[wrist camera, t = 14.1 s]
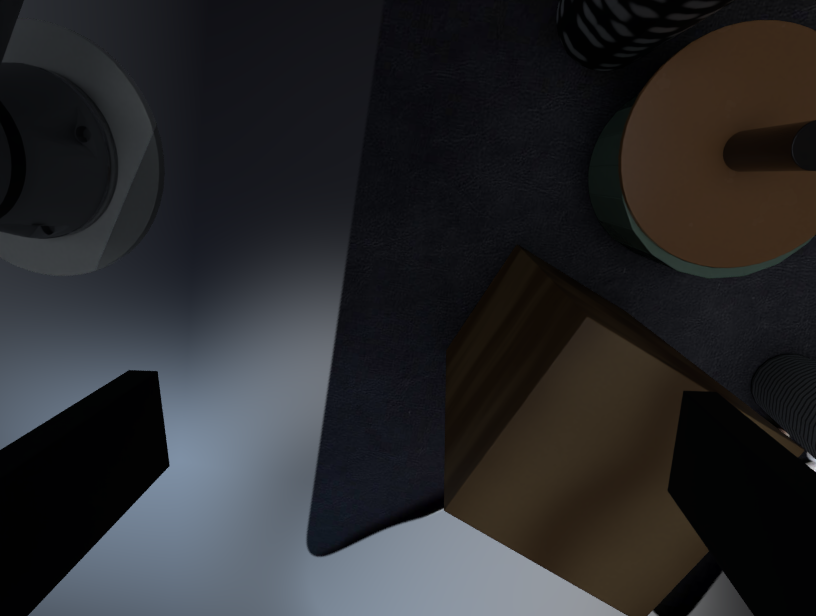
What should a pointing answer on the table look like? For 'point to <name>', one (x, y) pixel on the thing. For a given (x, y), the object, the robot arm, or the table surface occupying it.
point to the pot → (617, 215)
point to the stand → (572, 435)
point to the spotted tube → (625, 27)
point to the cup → (789, 396)
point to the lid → (726, 146)
